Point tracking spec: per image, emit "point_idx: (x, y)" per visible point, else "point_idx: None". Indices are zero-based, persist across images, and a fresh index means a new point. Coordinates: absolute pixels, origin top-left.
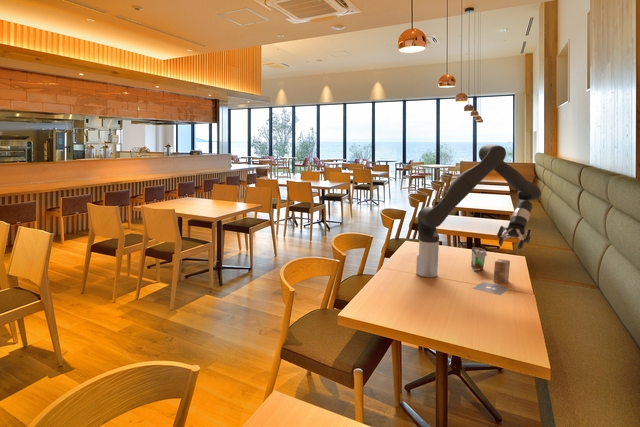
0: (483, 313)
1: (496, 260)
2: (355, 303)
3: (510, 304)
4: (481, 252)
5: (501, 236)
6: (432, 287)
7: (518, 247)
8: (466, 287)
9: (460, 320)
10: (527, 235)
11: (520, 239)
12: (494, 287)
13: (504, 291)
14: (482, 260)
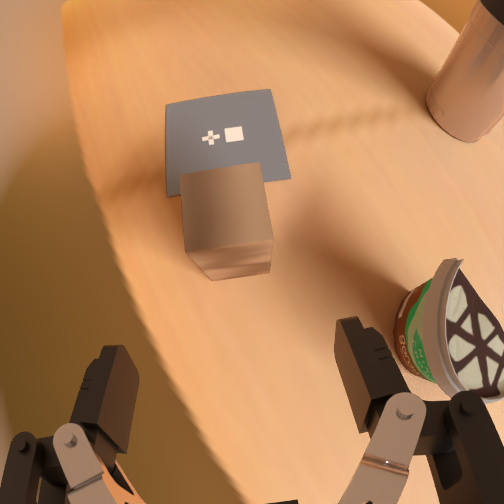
0: (160, 13)
1: (261, 183)
2: None
3: (121, 79)
4: (464, 348)
5: (404, 401)
6: (353, 38)
7: (121, 348)
8: (292, 87)
9: None
10: (16, 497)
11: (134, 494)
12: (216, 151)
13: (168, 143)
14: (418, 323)
